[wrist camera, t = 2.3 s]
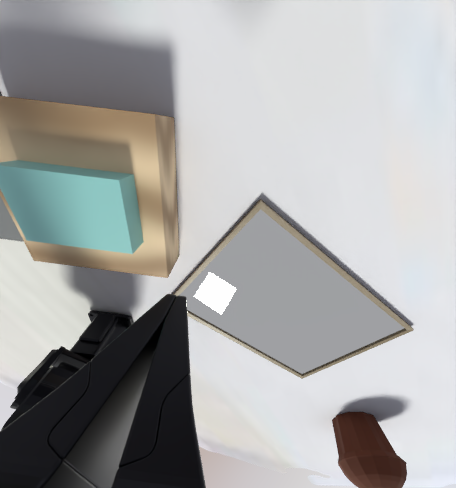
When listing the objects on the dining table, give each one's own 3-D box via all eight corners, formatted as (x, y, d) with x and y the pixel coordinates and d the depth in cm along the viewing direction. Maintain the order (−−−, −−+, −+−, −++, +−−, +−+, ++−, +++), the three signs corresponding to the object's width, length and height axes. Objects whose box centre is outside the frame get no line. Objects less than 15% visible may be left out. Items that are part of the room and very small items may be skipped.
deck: (179, 255, 23) (167, 277, 20) (65, 241, 23) (34, 260, 20) (174, 117, 16) (154, 114, 12) (9, 98, 16) (-55, 89, 13)
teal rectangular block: (143, 242, 18) (132, 254, 16) (47, 229, 18) (26, 240, 16) (133, 174, 15) (118, 180, 13) (17, 160, 15) (-13, 164, 13)
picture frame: (168, 298, 28) (300, 372, 35) (165, 303, 27) (302, 378, 34) (260, 197, 19) (408, 323, 27) (260, 200, 18) (413, 330, 26)
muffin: (333, 431, 47) (353, 499, 38) (318, 413, 42) (337, 485, 34) (388, 426, 43) (424, 500, 34) (378, 405, 38) (416, 485, 30)
